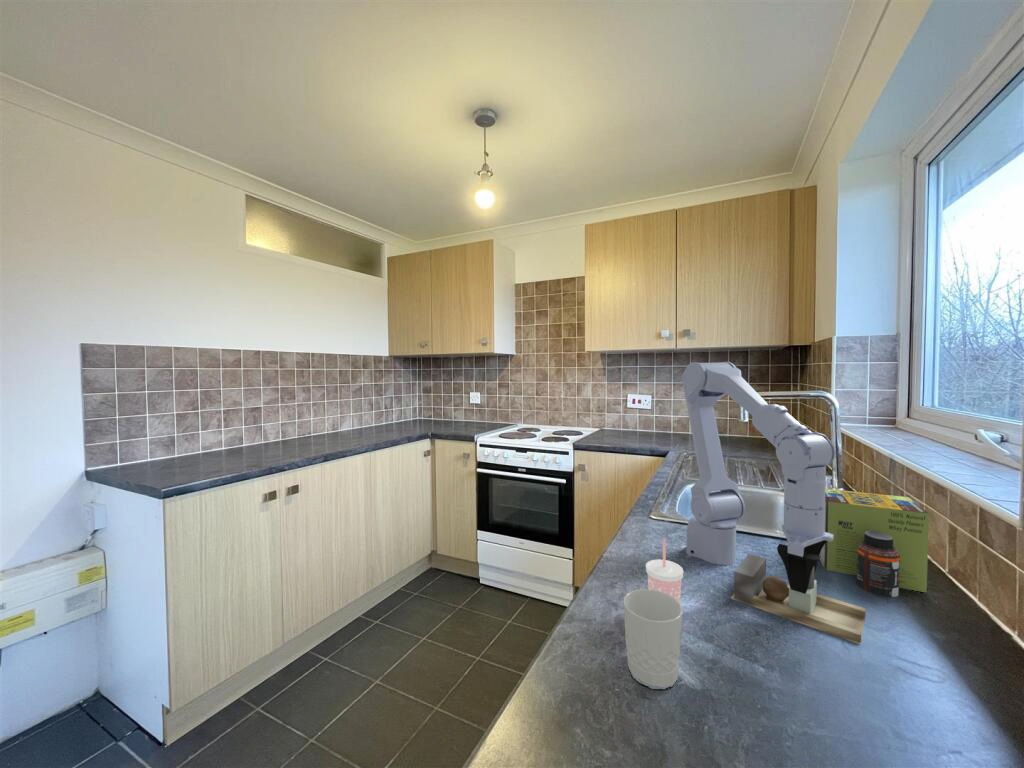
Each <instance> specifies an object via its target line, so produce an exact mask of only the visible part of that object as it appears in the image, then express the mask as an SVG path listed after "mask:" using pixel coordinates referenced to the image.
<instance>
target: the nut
mask: <svg viewBox="0 0 1024 768" xmlns="http://www.w3.org/2000/svg"><path fill="white" fill-rule="evenodd" d="M787 585H788V584H787V583H786V582H785V580H784V579H782V578H781V577H779V576H773V575H772V576H771V575H770V576H766V579H765V580H764V581H763V585H762V586H763V590H764V592H765V594H766V599H767V600H770V601H773V602H776V603H779V604H782V603H783V601H784V600H785V599H786V598H787V597H788V594H789V588H788V586H787Z"/></svg>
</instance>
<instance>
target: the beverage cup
mask: <svg viewBox="0 0 1024 768" xmlns="http://www.w3.org/2000/svg"><path fill="white" fill-rule="evenodd" d="M666 540H667V539H666V538H662V559H660V558H659V559H652V560H649V561H647V562H646V563H645V572H646V574H647V583H648V584H647V585H648V586H647V587H648V589H650V590H656V591H660V592H663V593H665V594H668V595H670V596H671V597H673V598H674V599H676V600H677V601H678V602H679V603H680V604H681V594H682V579H683V578H684V569H683V567H682V566H681V565H679V564H678V563H676V562H674V561H671V560H667V559H666V557H667V555H666V554H667V553H666V552H667V547H666V546H667V541H666Z"/></svg>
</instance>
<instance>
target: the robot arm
mask: <svg viewBox="0 0 1024 768" xmlns="http://www.w3.org/2000/svg"><path fill="white" fill-rule="evenodd" d="M681 379H682V386H683V392H684V397H685V402H686V408H687V413H688V414H687V415H688V418H689V424H690V430H691V436H692V440H693V441H692V442H693V446H694V453H695V458H696V464H697V469H698V474H699V475H698V476H699V479H698V480H697V481H696V482H695V483H694V484H693V485H692V487H690V494H691V499H690V511H691V513H692V515H693V516H691V517H690V518H689V520H688V522H687V528H686V555H688V556H692V557H693V558H694V557H695V558H698V559H701V560H704V561H705V562H707V563H710V564H714V565H717V566H718V565H719V566H731V565H733V564H735V563H736V561H737V560H736V559H737V557H736V555H737V552H736V550H737V525H739V523H740V519H742V518H744V516H745V513H746V505H745V501H744V499H743V497H742V495H741V494H740V491H739V486H738V484H737V483H736V482H735V481H734V480H733V481H732V479H730V478H729V477H727V471H726V466H725V462H724V461H725V460H724V456H723V451H722V445H721V440H720V435H719V430H718V425H717V420H716V419H717V418H716V414H715V409H714V406H715V405H716V404H717V402H718V401H719V400H720V399H722V398H724V396H726V395H727V396H728V397H729V398H730V399H732V401H734V402H735V403H736V404H738V405H739V406H740V407H742V409H744V410H745V411H746V412H747V413H748V414H750V415H751V416H752V418H751V424H752V426H753V428H755V429H756V430H757V431H758V432H759V433H760V434H761V435H762V436H763V437H764V438H765V439H766V440H767V441H768V442H770V443H771V445H773V447H774V448H775V455H776V458H777V460H778V461H779V463H780V465H781V474H782V476H783V477H784V479H783V481H784V482H783V484H784V486H783V487H784V488H783V490H784V491H783V496H784V497H783V524H782V526H781V529H782V532H783V534H784V536H785V539H786V540H787V545H786V544H782V543H779V544H778V545H777V547H776V550H777V554H778V555H779V557H780V558H781V561H782V562H783V564H784V568H785V570H786V572H785V573H786V575H787V580H788V585H790V588H791V590H794V591H797V592H801V593H804V594H806V592H807V589H808V586H809V582H810V577H811V573H812V569H813V567H814V574H815V573H816V570H817V567H818V562H819V561H820V559H819V558H820V556H819V555H820V552H821V549H822V548H823V546H824V545H825V543H826V542H827V541H833V539H834V535H833V534H831V533H827V532H825V489H826V481H827V480H826V479H827V478H826V477H827V466H830V465H831V464H833V461H834V460H835V457H836V449H835V446H834V444H833V442H831V440H830V439H829V438H828V436H827V435H825V434H824V433H821V432H813V431H811V430H810V429H808V427H807V426H805V425H804V424H801V423H800V422H799V421H798V420H797V419H795V418H794V416H792V415H791V414H790V413H789V412H788V408H786V406H785V405H779V404H776V403H770V404H769V403H767V401H766V400H765V399H764V398H763V397H762V396H761V395H760V394H758V392H757V391H756V390H755V389H754V388H753V387H752V386H751V384H749V383H748V382H747V381H746V379H744V378H743V377H742V371H741V369H739V368H738V367H736V365H735V364H734V363H732V362H730V361H722V362H697V361H695V362H694V361H693V362H690V363H689V364H687V366H686V367H685V370H684V372H683V374H682V375H681ZM692 551H693V552H692Z"/></svg>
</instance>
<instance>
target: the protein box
mask: <svg viewBox="0 0 1024 768" xmlns="http://www.w3.org/2000/svg"><path fill="white" fill-rule="evenodd" d="M929 523H930V513H929V512H928V511H927V510H925V509H924V508H923V507H921V506H920V505H919V504H917V503H916V502H915V501H913V499H912V498H910V497H908V496H900V495H891V494H890V495H889V494H888V495H887V494H879V493H870V492H869V493H868V492H863V491H862V492H861V491H851V490H850V491H849V490H839V489H829V488H825V532H827V533H831V534H833V535H834V539H833V541H827V542H826V543H825V545H824V546H823V548H822V549H821V552H820V555H819V556H820V558H819V561H820V564H821V566H822V567H823V568H824V569H825V570H826V571H831V572H837V573H842V574H847V575H852V576H854V577H855V576H856V577H857V552H858V544H859V543H860V542H863V541H864V540H865V539H864V536H865V532H867V531H875V532H881V533H884V534H887V535H890V536H892V537H893V547H894V548H895V549H897V550H898V552H899V553H900V582H899V589H903V590H904V589H905V590H909V591H911V590H914V591H913V592H915V591H921V592H927V591H928V589H927V588H928V587H927V586H928V560H929V559H928V557H929V555H928V553H929V531H930V530H929V529H930V527H929V526H930V525H929Z"/></svg>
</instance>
